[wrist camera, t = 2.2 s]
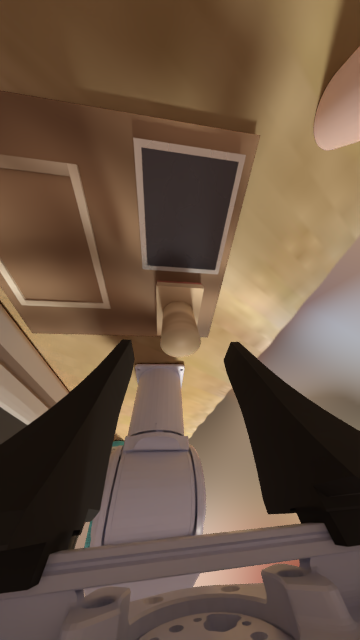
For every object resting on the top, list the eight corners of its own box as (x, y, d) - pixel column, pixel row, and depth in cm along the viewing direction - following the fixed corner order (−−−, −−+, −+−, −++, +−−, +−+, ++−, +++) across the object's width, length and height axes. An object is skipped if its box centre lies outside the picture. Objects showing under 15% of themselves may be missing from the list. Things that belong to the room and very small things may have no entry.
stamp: (193, 328, 18) (202, 367, 13) (158, 327, 17) (153, 367, 12) (200, 282, 14) (217, 312, 9) (157, 280, 14) (150, 309, 9)
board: (206, 333, 19) (208, 338, 18) (37, 329, 17) (31, 333, 16) (254, 141, 10) (261, 133, 9) (-123, 79, 7) (-157, 61, 7)
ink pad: (215, 271, 14) (219, 275, 12) (144, 266, 13) (141, 270, 12) (239, 161, 9) (249, 152, 8) (136, 145, 9) (131, 133, 8)
